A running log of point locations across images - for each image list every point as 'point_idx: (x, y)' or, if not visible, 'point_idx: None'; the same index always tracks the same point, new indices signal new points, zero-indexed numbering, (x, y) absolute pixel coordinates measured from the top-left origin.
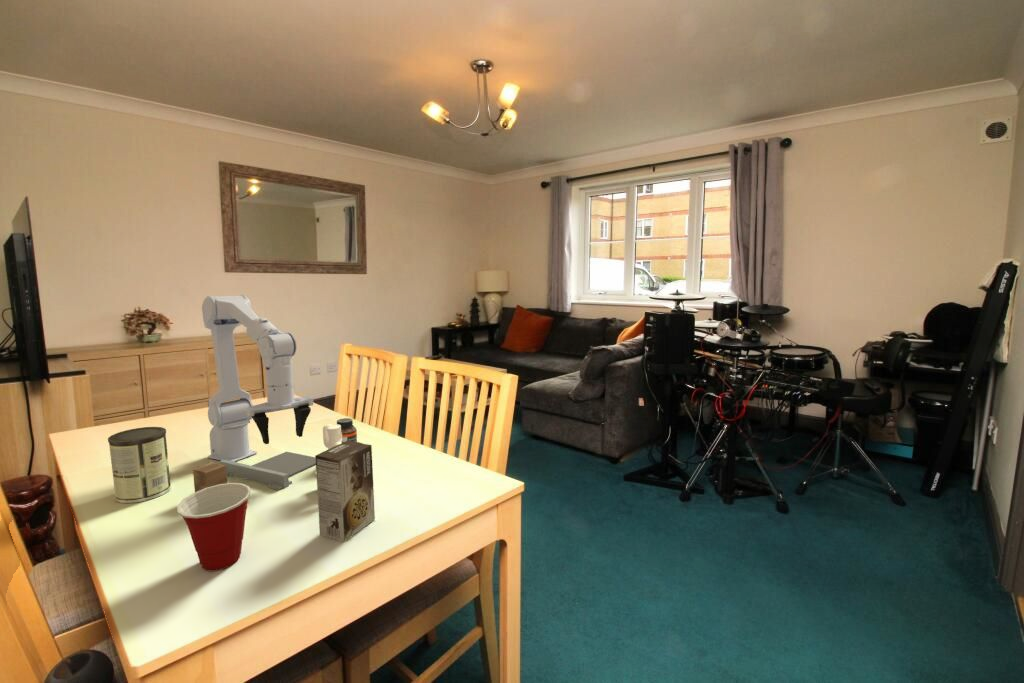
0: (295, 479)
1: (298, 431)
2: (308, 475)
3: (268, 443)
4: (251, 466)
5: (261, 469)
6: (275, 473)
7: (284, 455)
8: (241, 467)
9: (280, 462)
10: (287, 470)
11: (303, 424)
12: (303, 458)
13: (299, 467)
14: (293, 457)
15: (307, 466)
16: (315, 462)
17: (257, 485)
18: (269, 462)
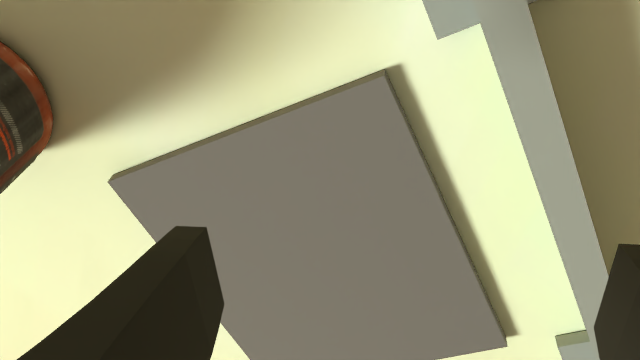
0: (353, 7)
1: (188, 301)
2: (254, 16)
3: (626, 248)
4: (575, 269)
5: (557, 178)
6: (522, 20)
7: (297, 357)
8: None
9: (345, 295)
10: (353, 165)
11: (64, 339)
12: (219, 267)
13: (275, 162)
14: (264, 311)
15: (226, 145)
16: (168, 172)
17: (597, 84)
18: (393, 329)
